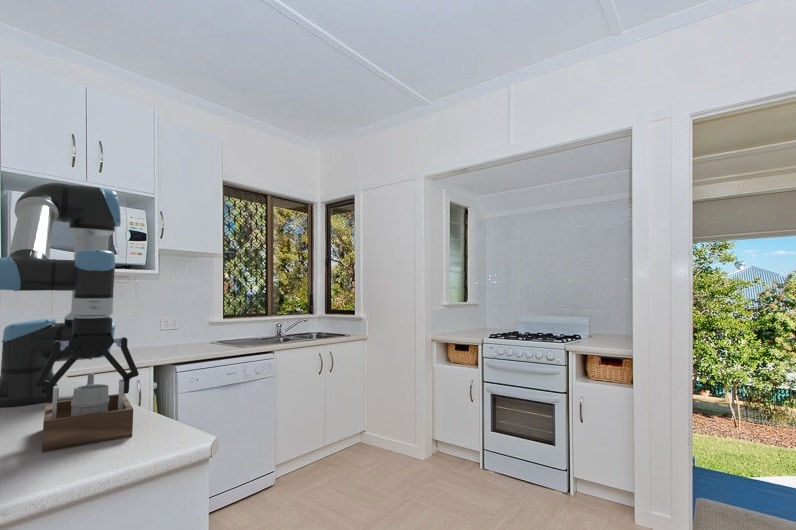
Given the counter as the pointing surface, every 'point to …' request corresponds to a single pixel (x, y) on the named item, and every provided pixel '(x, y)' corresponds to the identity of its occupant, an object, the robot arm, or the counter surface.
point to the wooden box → (86, 425)
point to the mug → (90, 398)
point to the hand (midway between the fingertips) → (88, 412)
